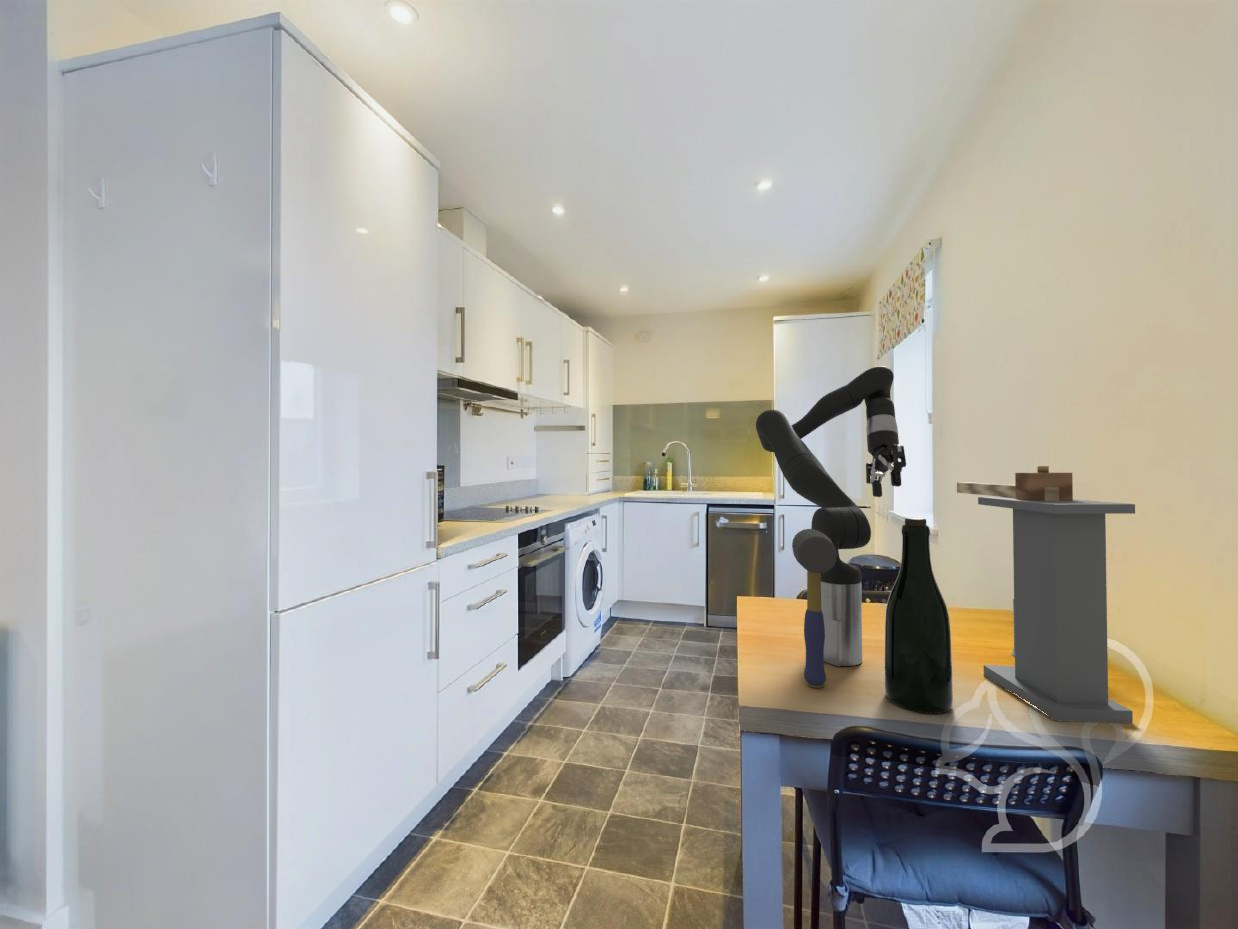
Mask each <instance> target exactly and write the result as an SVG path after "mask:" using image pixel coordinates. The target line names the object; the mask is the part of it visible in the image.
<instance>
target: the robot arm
mask: <svg viewBox="0 0 1238 929" xmlns="http://www.w3.org/2000/svg"><path fill="white" fill-rule="evenodd" d="M894 378H895V376H894V373H893V370H892V369H891V368H889V367H888V366H884V365H877V366H873V367H871V368H868V369H867V370H864V371H863V372H862V373H861V374H859V375H858V376H856V377H855V378H854V379H851V381H849V383H847V384H845V385H842V386H841V387H839V388H837V389H834V390H833V391H831V392H828V393H827V394H825V395H824V396H822V397H821V398H820V399H819V400H818V401H817V402H816V403H815V404H814V405H813V406H812V407H811V409H810V410H808V412H807V413H806V414H805V415H804V416H803V417H802V418H800V419H799V420H798V421H797V422H795V423H793V424H791V422H790V420H789V418H788V416H787V415H786V414H785V412H782V411H780V410H777V409H767V410H764V411H763V412H761V413H760V414H759V415H758V417H757V418H756V422H755V430H756V433H757V436H758V438H759V441H760V444H761V446H762V448H763V450H765V451H766V452H769V453H774V456H775V459H776V462H777V464H778V467H779V469H780V471H781V473H782V475H783V477H784V478H785V480H786V482H787V483H788V485H789V486H790V488H791V489H792V490H793V491H794V492H795V493H796V494H797V495H799V496H801V497H802V498H803V499H805V500H807V501H809V502H810V503H812V504H814V505H816V506H818V507H819V508H818V509H816V510H815V512H814V513H813V514H812V517H811V526H810V527H811V528H810V529H814V530H817V531H819V532H821V533H823V534H825V535H826V536H827V537H828V538H829V539H830V540H831V541H832V543H833V545H834V546H835V548H836V551H837V561H836V563H835V565H834V566H833V567H832V568H831V569H830V570H829V571H827V572H824V573H821V610H822V613H823V618H824V627H825V642H824V663H828V664H830V665H833V666H835V667H842V666H843V667H844V666H845V667H848V666H850V667H851V666H857V665H861V664H862V663H863V616H862V614H863V613H862V612H863V606H862V605H863V604H862V603H863V602H862V600H863V599H862V598H863V596H862V594H863V593H862V585H863V584H862V571H861V568H859V567H858V566H855V565H853V564H850V563H846V562H845V561H843V560H841V558H840V552H839V550H853V549H860V548H864V547H866V545H868V544H869V543H870V540H871V537H872V530H871V525H870V522H869V520H868V518H867V516H866V514H865V513H864V512H863V510H862V509H861V508H860V506H858V504H856V502H854V501H853V500H852V499H851V498H850V497H849V495H848V494H846V493H845V492H844V491H843V490H842V489H841V487H840V486H839V485H838V484H837V483H836V481H834V479H833V478H832V476H831V475H830V473H828V472H827V470H826V469H825V467H824V466H823V464H822V463H821V462H820V460H819V459H818V458H817V456H815V454H814V453H813V452H812V451H811V450H810V449H809V447H808V446H807V444H806V443H805V442H804V441H803V440H802V439H803V438H804V437H806V436H808V435H810V434H811V433H812V432H814V431H815V430H816V429H818V428H819V427H821V426H823V425H824V424H826V423H828V422H829V421H831V420H833V419H835V418H836V417H838V416H841V415H843V414H845V413H847V412H850V411H851V410H853V409H857V407H859V406H860V405H862V403H863V401H864V405H865V408H866V409H865V413H866V414H865V415H866V430H865V431H866V445H867V452H868V453H869V454H870V455H871V456H872V460H871V461H872V462H866V464H865V478H866V480H865V482H866V484H869V485H871V486H872V487H871V490H872V491H871V492H872V496H873V497H874V498H875V497H876V498H881V497H883V488H882V487H883V486H882V480H883V478H884V477H885V476H886V474H887V472H888V471H890V483H891V486H893V487H898V488H899V487H901V486H902V473H901V472H902V471H903V468H906V466H907V460H906V454H905V447H904V445H902V444H900V440H899V439H900V438H899V430H898V424H897V420H896V409H895V405H894V402H893V400H892V399H891V389H892V385H893V383H894ZM899 460H900V461H899Z"/></svg>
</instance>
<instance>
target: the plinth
mask: <svg viewBox="0 0 1238 929" xmlns="http://www.w3.org/2000/svg"><path fill="white" fill-rule="evenodd" d="M977 504H978V505H981V506H989V507H996V508H1004V509H1012V540H1013V541H1012V542H1013V543H1012V546H1013V549H1012V550H1013V552H1012V553H1013V599H1014V623H1013V629H1014V628H1015V657H1014V665H991V664H989V665H987V664H985V665H984V664H983V676H985V677H986V678H987V679H989V680H990V681H992V682H993V681H994V683H995V684H997V685H998V686H999V687H1001V688H1003V687H1004V688H1005V690H1006V689H1007V690H1009V691H1011V692H1012V693H1015V694H1017V695H1018V696H1019V697H1021V698H1022V699H1025V700H1026V701H1028V702H1030V704H1032V705H1034V706H1036V707H1037V708H1038V709H1040V710H1041V711H1043V712H1044V713H1046V714H1047V715H1048V716H1049V717H1050V718H1052V719H1053V720H1061V721H1060V722H1078V721H1083V723H1084V722H1085V723H1086V722H1088V723H1112V724H1113V723H1114V724H1117V723H1118V724H1133V720H1134V718H1133V715H1134V713H1133V710H1131V709H1130V708H1128V707H1126V706H1123V705H1122V704H1120V703H1118V702H1117V701H1114V700H1112V699H1111V698H1109V676H1108V675H1109V673H1108V672H1109V670H1108V669H1109V668H1108V667H1109V666H1108V660H1109V659H1108V657H1109V656H1108V600H1107V599H1108V597H1107V551H1106V550H1107V544H1106V543H1107V542H1106V540H1107V538H1106V537H1107V536H1106V534H1107V533H1106V532H1107V531H1106V530H1107V529H1106V527H1107V526H1106V514H1108V515H1111V514H1112V515H1114V514H1119V515H1120V514H1122V515H1123V514H1125V515H1127V514H1129V515H1130V514H1136V504H1135V503H1123V502H1113V501H1101V500H1089V499H1088V500H1087V499H1074V498H1073V500H1061V501H1030V500H1019V499H1016V498H1011V497H1000V496H978V497H977ZM1004 688H1003V689H1004ZM1007 690H1006V691H1007ZM1009 691H1008V692H1009ZM1012 693H1011V694H1012ZM1049 717H1048V718H1049ZM1050 718H1049V719H1050ZM1052 719H1051V720H1052ZM1053 720H1052V721H1053Z"/></svg>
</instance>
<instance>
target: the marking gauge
mask: <svg viewBox="0 0 1238 929" xmlns="http://www.w3.org/2000/svg"><path fill="white" fill-rule="evenodd" d="M1036 467H1037V469H1036V470H1037V472H1014V474H1015V475H1014V479H1015V480H1014V481H1015V482H1014V483H1015V484H1008V483H1007V484H1006V483H986V482H970V481H969V482H967V481H966V482H965V481H964V482H963V481H962V482H959V481H958V482H956V493H957V494H968V495H980V496H988V497H1011V498H1016V499H1019V500H1030V501H1061V500H1073V499H1074V498H1073V497H1074V494H1073V492H1074V491H1073V486H1074V485H1073V484H1074V483H1073V472H1056V471H1055V472H1051V471H1050V468H1049V467H1050V466H1049V465H1048V466H1047V465H1045V466H1044V465H1037V466H1036ZM1049 471H1050V472H1049Z"/></svg>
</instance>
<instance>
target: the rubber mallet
mask: <svg viewBox="0 0 1238 929" xmlns="http://www.w3.org/2000/svg"><path fill="white" fill-rule="evenodd" d="M791 548H792V554H793V557H794V558H795V560H796V561H797V562H798V564H799V566H801V567H803V568H804V569H805V570H806V581H807V582H806V584H807V585H806V587H807V588H806V590H807V591H806V597H807V598H806V599H807V600H806V604H807V605H806V606H807V607H806V610H805V612H804V622H803V637H804V645H805V667H804V672H803V678H804V680H805V682H806V683H807V686H809V687H812V688H814V689H815V688H817V689H818V688H819V689H820V688H823V687H824V684H825V683H826V682H827V674H826V671H825V661H824V642H825V627H824V618H823V613H822V610H821V573H824V572H827V571H829V570H830V569H831V568H832V567H833V566H834V565H835V563H836V561H837V551H836V548H835V546H834V545H833V543H832V541H831V540H830V539H829V538H828V537H827V536H826V535H825V534H823V533H821V532H819V531H817V530H814V529H811V528H807V529H805V528H804V529H802V530H800V531H798V532H797V533H796V534H795V535H794V537H793V539H792V544H791Z"/></svg>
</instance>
